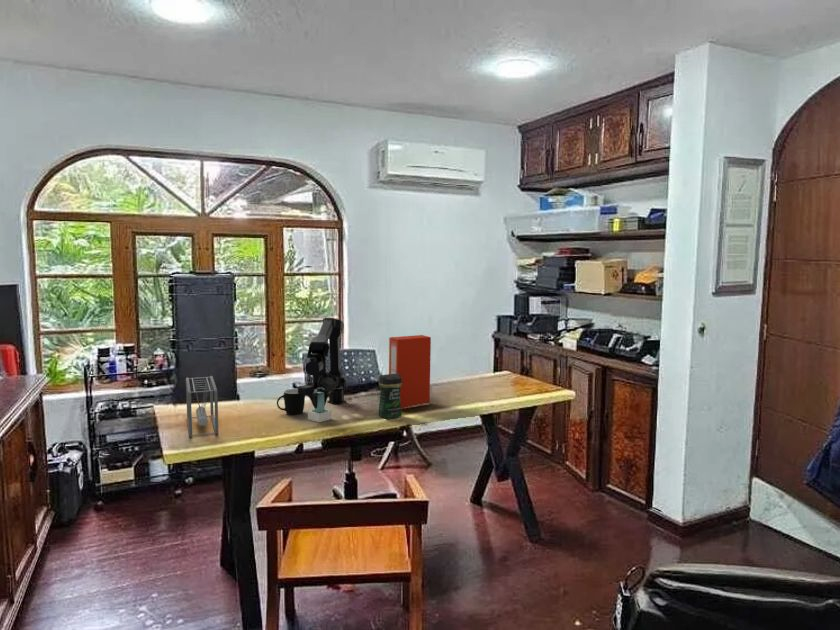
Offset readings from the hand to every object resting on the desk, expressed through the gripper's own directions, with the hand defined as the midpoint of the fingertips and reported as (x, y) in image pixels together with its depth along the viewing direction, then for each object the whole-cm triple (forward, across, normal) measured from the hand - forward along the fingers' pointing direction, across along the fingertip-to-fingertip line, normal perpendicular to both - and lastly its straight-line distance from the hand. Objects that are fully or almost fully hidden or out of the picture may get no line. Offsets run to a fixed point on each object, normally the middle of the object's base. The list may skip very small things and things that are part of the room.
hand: (319, 407), depth 244 cm
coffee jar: (+6, +23, -19) cm, 30 cm away
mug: (+6, -2, +16) cm, 17 cm away
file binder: (+6, +42, -14) cm, 45 cm away
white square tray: (+6, 0, 0) cm, 6 cm away
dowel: (+5, 0, 0) cm, 5 cm away
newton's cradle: (+6, -36, +29) cm, 47 cm away
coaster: (+6, +11, -9) cm, 15 cm away
